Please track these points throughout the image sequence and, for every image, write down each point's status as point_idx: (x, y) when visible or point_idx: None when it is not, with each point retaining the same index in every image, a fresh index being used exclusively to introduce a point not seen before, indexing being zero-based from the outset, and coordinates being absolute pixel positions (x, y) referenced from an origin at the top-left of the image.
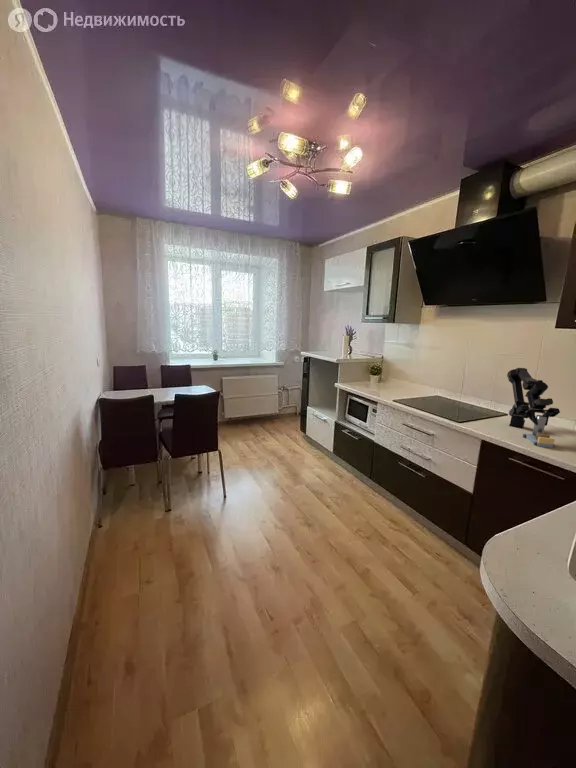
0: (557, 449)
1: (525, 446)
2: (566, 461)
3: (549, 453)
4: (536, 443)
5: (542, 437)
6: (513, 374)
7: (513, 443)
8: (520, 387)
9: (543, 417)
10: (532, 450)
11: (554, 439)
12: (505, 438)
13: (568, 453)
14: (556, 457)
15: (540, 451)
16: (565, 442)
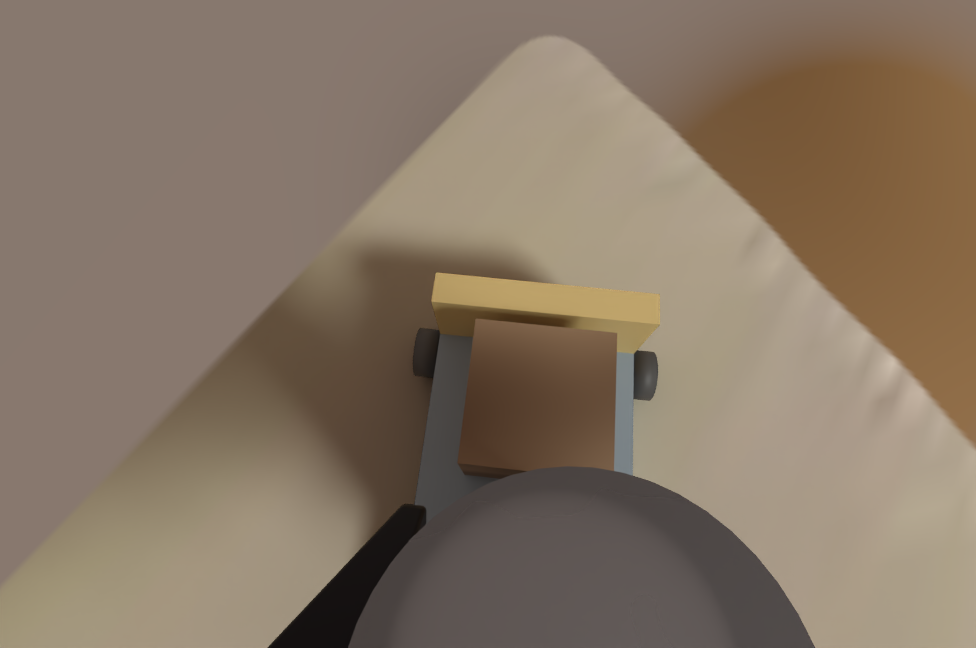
0: (414, 299)
1: (781, 318)
2: (551, 36)
3: (599, 172)
4: (640, 351)
5: (608, 304)
6: None
7: (904, 392)
8: None
9: (617, 480)
10: (751, 215)
11: (441, 276)
12: (968, 591)
13: (372, 209)
14: (589, 96)
15: (671, 205)
16: (37, 613)
